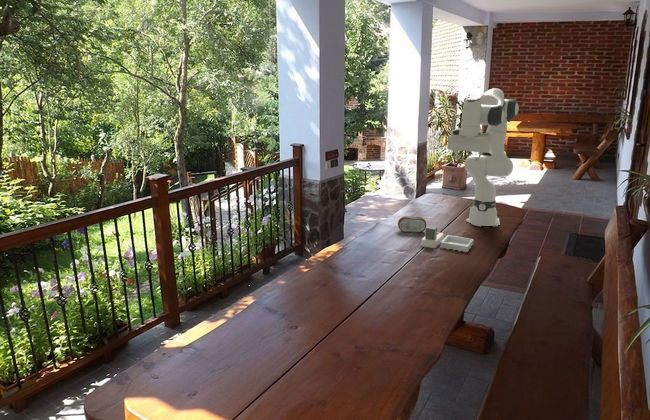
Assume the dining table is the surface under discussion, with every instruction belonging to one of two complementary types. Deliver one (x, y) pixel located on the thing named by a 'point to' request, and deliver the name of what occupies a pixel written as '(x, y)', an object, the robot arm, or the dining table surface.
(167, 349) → the dining table surface
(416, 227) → the tin
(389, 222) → the dining table surface
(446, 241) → the tray
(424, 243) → the power strip
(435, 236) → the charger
